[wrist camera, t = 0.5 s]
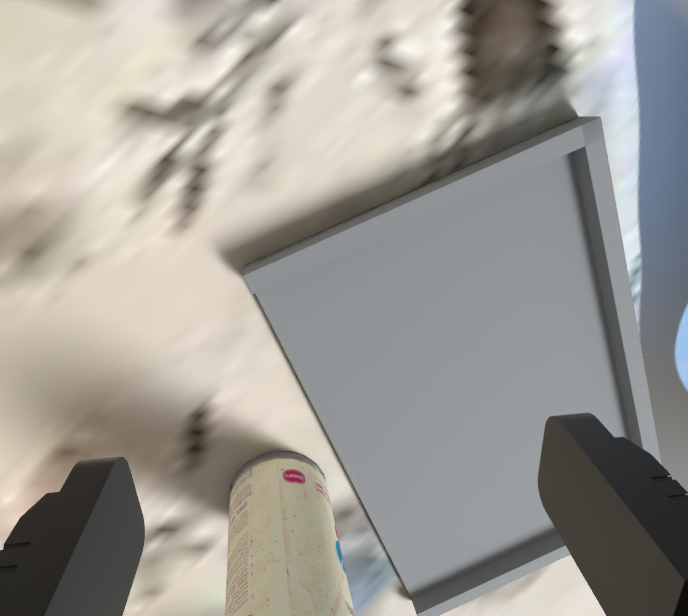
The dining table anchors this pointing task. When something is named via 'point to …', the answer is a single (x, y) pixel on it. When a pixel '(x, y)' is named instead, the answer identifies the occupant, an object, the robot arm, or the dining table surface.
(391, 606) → the dining table surface
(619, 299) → the tray
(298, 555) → the aerosol can
